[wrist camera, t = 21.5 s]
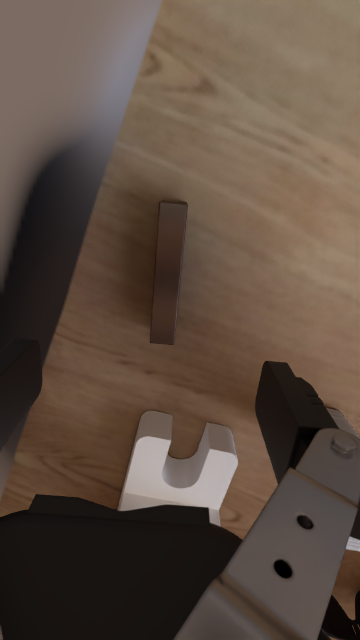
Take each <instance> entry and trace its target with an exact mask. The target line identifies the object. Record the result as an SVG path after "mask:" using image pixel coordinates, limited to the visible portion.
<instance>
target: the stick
mask: <svg viewBox="0 0 360 640" xmlns="http://www.w3.org/2000/svg"><path fill="white" fill-rule="evenodd" d="M187 207H188V205H187V203H186V202H176V201H166V200H162V201H160V202H159V215H158V230H157V244H156V259H155V274H154V288H153V303H152V318H151V333H150V343H156V344H168V345H174V341H175V331H176V320H177V310H178V300H179V290H180V279H181V269H182V259H183V248H184V238H185V228H186V218H187Z"/></svg>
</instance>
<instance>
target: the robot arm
mask: <svg viewBox="0 0 360 640" xmlns="http://www.w3.org/2000/svg"><path fill="white" fill-rule="evenodd" d="M41 387H42V366H41V351H40V344H39V341H38V340H32V339H20V338H14V339H13V340H12V341H10V342H9V343H8V344H7V345H6V346H5V347H4V348H3V349H2V350H1V351H0V451H1V450H2V448H3V447H4V445H5V444H6V442H7V441H8V439H9V438H10V437H11V435H12V433H13V432H14V431H15V429H16V428H17V426H18V425H19V423H20V422H21V421H22V419H23V418H24V416H25V415H26V413H27V412H28V410H29V409H30V407H31V406H32V405H33V403H34V402H35V400H36V399H37V397H38V396H39V394H40V391H41ZM255 410H256V416H257V419H258V422H259V426H260V429H261V432H262V435H263V438H264V441H265V444H266V448H267V451H268V454H269V457H270V460H271V463H272V466H273V470H274V473H275V476H276V479H277V482H278V486H277V487H276V489H275V491H274V492H273V494H272V495H271V497H270V498H269V500H268V502H267V503H266V505H265V506H264V508H263V509H262V511H261V513H260V514H259V516H258V517H257V519H256V520H255V522H254V524H253V525H252V527H251V528H250V530H249V531H248V533H247V535H246V536H245V538H244V539H243V540H242V539H240V538H239V537H238V536H236V535H235V534H233V533H232V532H230V531H228V530H227V529H224V528H222V527H220V526H218V525H216V524H213V523H210V517H209V508H208V507H195V506H182V505H169V504H166V505H159V506H153V507H147V508H140V509H134V510H128V511H118V510H115V509H112V508H109V507H106V506H103V505H100V504H97V503H94V502H91V501H88V500H85V499H82V498H78V497H65V496H52V495H39V494H36V495H35V497H34V499H33V501H32V504H31V506H30V508H29V509H28V510H22V511H18V512H15V513H11V514H8V515H5V516H3V517H0V640H331V639H330V638H329V637H328V636H327V634H326V633H325V632H324V631H323V630H322V629H321V626H322V622H323V619H324V616H325V613H326V610H327V607H328V603H329V600H330V597H331V594H332V591H333V587H334V584H335V581H336V578H337V575H338V571H339V568H340V565H341V562H342V559H343V556H344V552H345V549H346V546H347V543H348V540H349V536H350V537H352V538H355V539H358V540H360V439H359V438H358V437H356V436H355V435H353V434H351V433H349V432H346V431H343V430H340V429H339V427H338V426H337V424H336V423H335V421H334V419H333V418H332V416H331V415H330V413H329V412H328V410H327V409H326V407H325V406H323V402H322V401H321V399H320V398H318V394H317V393H316V391H315V390H314V388H313V387H312V386H311V385H310V384H309V383H307V382H306V381H305V380H304V379H302V378H300V377H295V375H294V373H293V372H292V370H291V368H290V367H289V365H288V363H284V362H273V361H265V362H264V364H263V367H262V372H261V377H260V381H259V386H258V391H257V395H256V402H255Z"/></svg>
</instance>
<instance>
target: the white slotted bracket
mask: <svg viewBox="0 0 360 640" xmlns="http://www.w3.org/2000/svg"><path fill="white" fill-rule="evenodd" d="M171 436H172V415H171V414H166V413H161V412H157V411H147V412H145V413H144V414H143V415H142V416H141V418H140V422H139V426H138V430H137V434H136V438H135V442H134V446H133V450H132V454H131V458H130V461H129V465H128V469H127V473H126V477H125V481H124V485H123V489H122V493H121V497H120V501H119V504H118V508H117V510H118V511H128V510H134V509H140V508H147V507H153V506H159V505H166V504H169V505H182V506H195V507H208V508H209V517H210V523H213V524H216V525H218V526H220V527H221V525H220V516H219V509H220V506H221V504H222V501H223V499H224V497H225V494H226V492H227V489H228V487H229V484H230V482H231V479H232V477H233V475H234V472H235V470H236V467H237V465H238V459H237V454H236V449H235V444H234V439H233V435H232V431H231V430H230V429H229V428H228V427H226V426H223V425H218V424H213V423H208V422H207V424H206V426H205V429H204V432H203V435H202V438H201V441H200V444H199V447H198V450H197V451H196V453H195V454H194V455H193V456H192V457H190V458H187V459H175V458H172V457H170V456H169V455H168V454H167V453H168V450H169V447H170V443H171Z"/></svg>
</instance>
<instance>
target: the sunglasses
mask: <svg viewBox="0 0 360 640" xmlns="http://www.w3.org/2000/svg"><path fill="white" fill-rule="evenodd" d="M355 617H356V618H355V620H351V619H349V618H348V616H347V614H346V613H345V611H344V610H343V609H342V607H341V606H340V605H339V603H338V602H337V600H336V599H335V598H334V597H333V596H332V595H331V597H330V600H329V603H328V607H327V610H326V613H325V616H324V619H323V622H322V626H321V629H322V630H323V631H324V632H325V633H326V634H327V635H328V636H330V637H333V638H335V639H337V640H360V629H359V627H360V591H358V592H357V594H356V597H355ZM357 624H358V625H359V627H358V625H357ZM352 625H353V627H354V629H353V627H352ZM354 630H355V632H356V634H355V632H354Z"/></svg>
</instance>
